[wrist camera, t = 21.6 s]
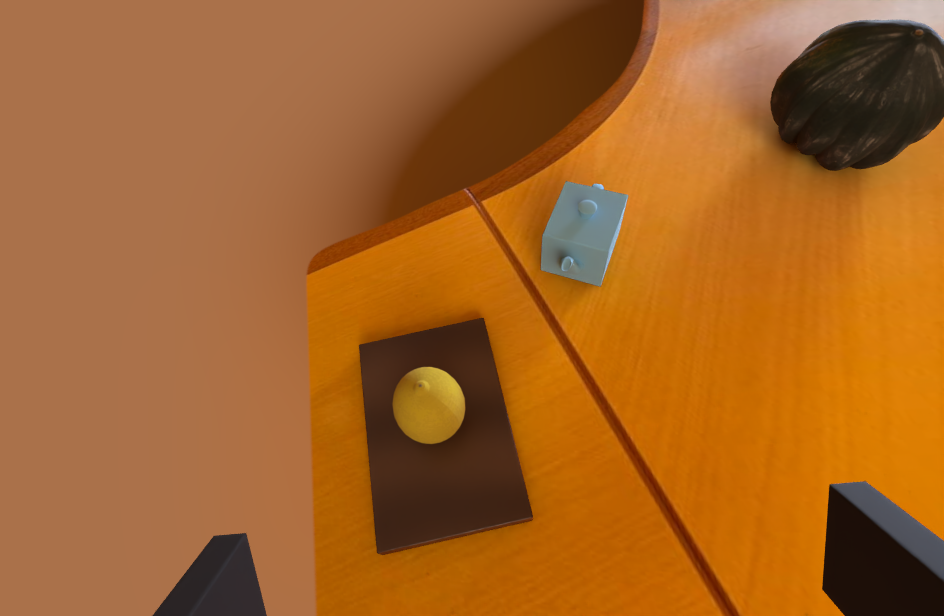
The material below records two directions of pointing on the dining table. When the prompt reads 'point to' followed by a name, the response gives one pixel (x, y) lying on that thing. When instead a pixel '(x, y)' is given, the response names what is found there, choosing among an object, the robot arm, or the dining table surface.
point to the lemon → (428, 405)
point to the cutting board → (440, 444)
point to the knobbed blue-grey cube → (582, 232)
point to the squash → (862, 92)
